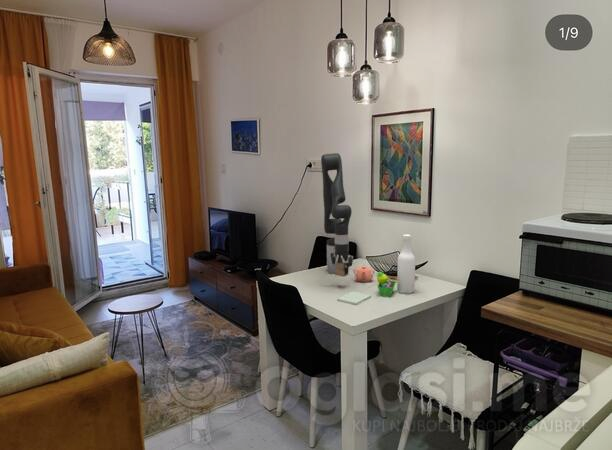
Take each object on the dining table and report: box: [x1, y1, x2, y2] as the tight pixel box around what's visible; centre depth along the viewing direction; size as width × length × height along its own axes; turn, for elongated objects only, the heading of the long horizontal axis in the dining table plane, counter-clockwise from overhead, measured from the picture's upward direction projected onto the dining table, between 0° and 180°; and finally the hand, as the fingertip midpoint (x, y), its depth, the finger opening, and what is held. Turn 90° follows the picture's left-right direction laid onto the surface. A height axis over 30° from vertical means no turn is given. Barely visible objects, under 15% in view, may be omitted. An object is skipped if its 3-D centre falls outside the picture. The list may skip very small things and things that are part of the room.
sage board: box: [336, 291, 372, 306], centre depth 204 cm, size 14×11×1 cm
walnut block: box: [335, 261, 349, 278], centre depth 222 cm, size 5×5×7 cm
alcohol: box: [396, 233, 416, 295], centre depth 212 cm, size 9×9×30 cm
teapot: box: [353, 264, 375, 283], centre depth 234 cm, size 12×15×8 cm
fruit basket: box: [376, 271, 396, 297], centre depth 211 cm, size 11×9×11 cm
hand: (341, 272), depth 222 cm, fingers closed on walnut block, 5 cm apart
